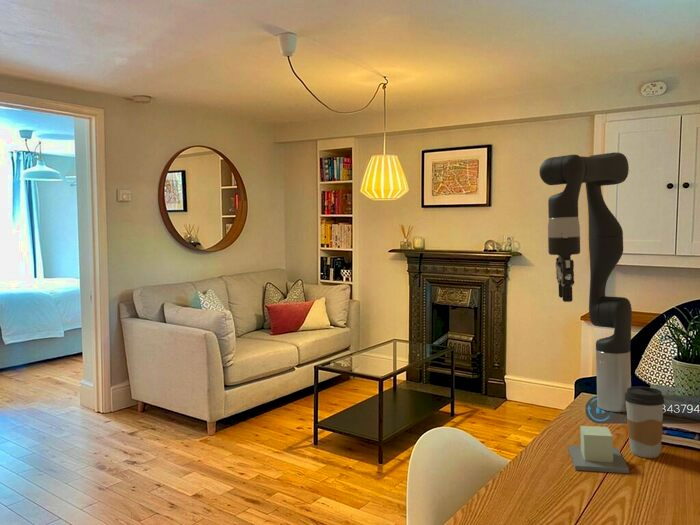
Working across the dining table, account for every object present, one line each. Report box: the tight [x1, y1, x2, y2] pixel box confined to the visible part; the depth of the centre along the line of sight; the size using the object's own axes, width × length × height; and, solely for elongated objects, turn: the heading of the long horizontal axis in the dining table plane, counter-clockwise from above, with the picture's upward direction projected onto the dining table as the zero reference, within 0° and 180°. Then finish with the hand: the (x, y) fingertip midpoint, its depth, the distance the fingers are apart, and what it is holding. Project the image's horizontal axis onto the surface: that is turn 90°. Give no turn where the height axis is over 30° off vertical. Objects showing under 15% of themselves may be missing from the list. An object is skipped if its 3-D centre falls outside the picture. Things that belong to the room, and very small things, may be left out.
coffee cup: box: [625, 386, 665, 459], centre depth 130 cm, size 8×8×15 cm
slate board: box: [568, 445, 630, 474], centre depth 127 cm, size 12×11×1 cm
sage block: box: [579, 425, 614, 462], centre depth 127 cm, size 6×6×6 cm
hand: (565, 299), depth 140 cm, fingers open, 8 cm apart
